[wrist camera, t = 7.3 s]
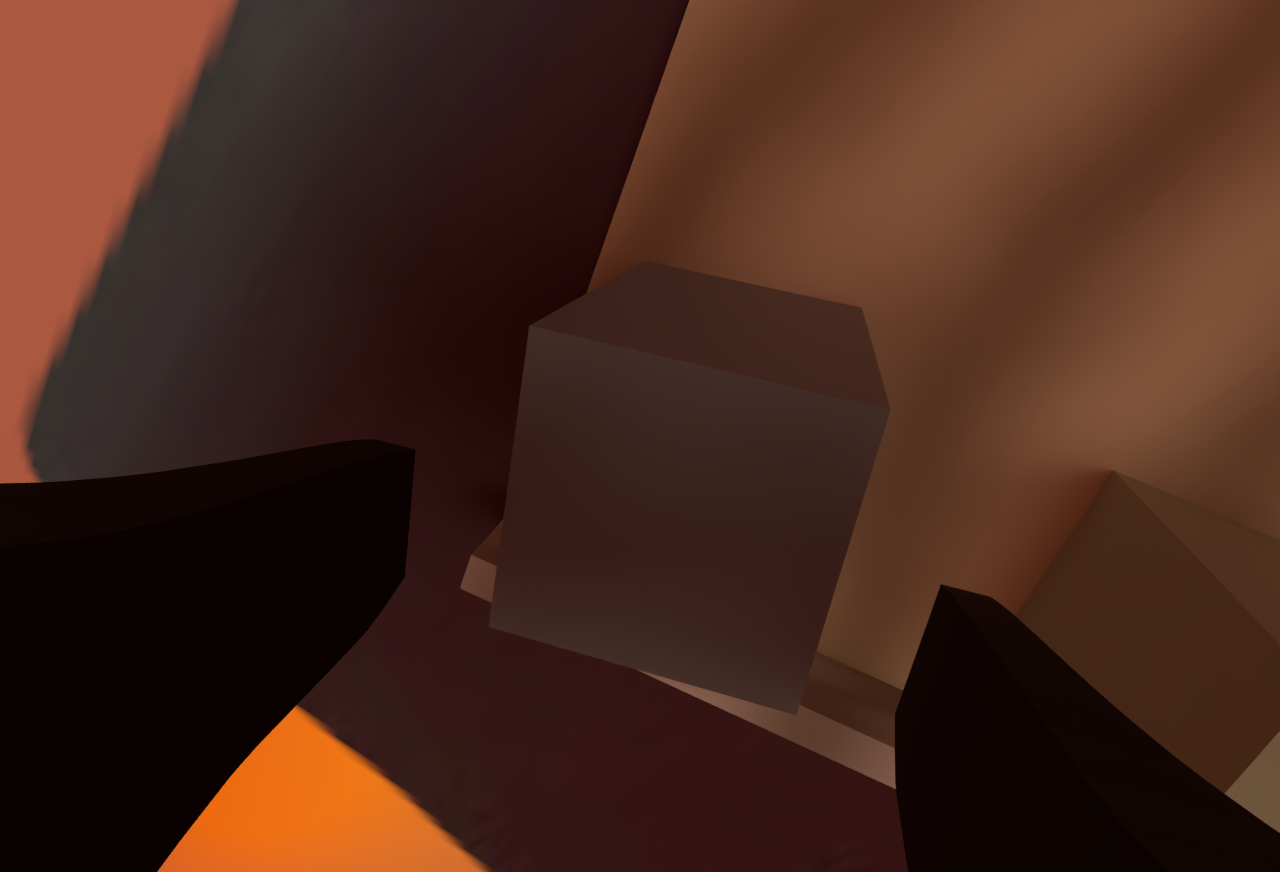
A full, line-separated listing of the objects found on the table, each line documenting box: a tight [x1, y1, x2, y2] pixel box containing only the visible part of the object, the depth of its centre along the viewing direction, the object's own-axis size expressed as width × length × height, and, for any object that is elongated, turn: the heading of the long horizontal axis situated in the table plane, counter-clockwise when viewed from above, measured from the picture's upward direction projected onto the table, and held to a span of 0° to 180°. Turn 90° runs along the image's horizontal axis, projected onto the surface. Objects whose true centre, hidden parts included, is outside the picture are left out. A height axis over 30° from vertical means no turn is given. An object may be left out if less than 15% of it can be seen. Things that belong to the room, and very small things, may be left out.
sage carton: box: [1016, 471, 1280, 833], centre depth 15 cm, size 5×5×8 cm
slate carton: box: [489, 261, 891, 715], centre depth 16 cm, size 5×5×8 cm
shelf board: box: [460, 0, 1280, 789], centre depth 17 cm, size 19×22×4 cm
